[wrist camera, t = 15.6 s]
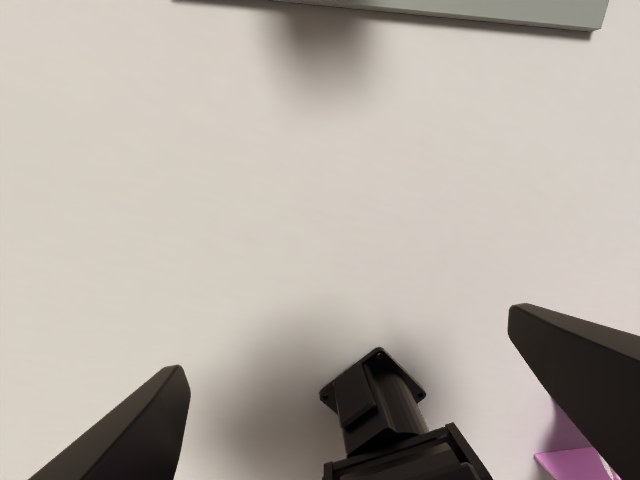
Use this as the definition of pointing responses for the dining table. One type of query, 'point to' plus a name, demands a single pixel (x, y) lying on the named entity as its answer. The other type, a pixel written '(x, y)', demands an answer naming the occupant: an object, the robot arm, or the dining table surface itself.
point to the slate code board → (491, 10)
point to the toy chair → (575, 464)
